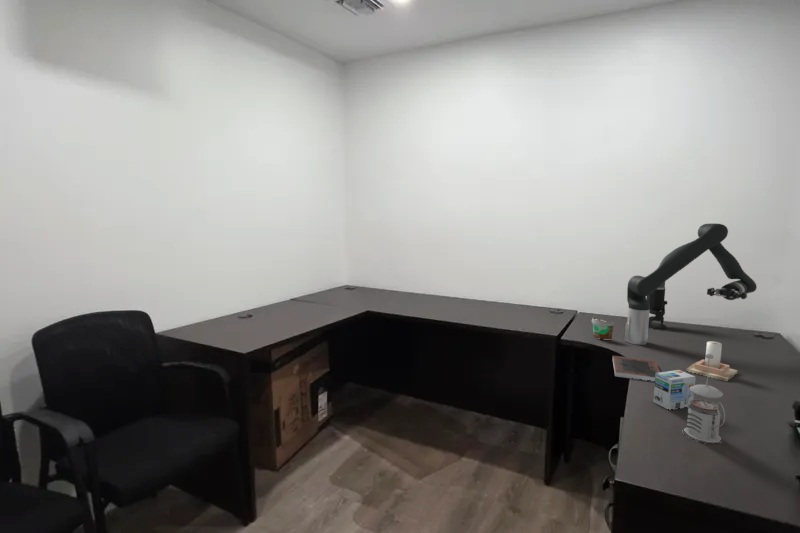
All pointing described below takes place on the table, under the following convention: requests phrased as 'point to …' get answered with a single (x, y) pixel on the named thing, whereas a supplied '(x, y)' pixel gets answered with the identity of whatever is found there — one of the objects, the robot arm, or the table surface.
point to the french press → (704, 427)
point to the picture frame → (635, 368)
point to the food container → (602, 328)
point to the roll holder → (712, 370)
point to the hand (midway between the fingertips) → (722, 295)
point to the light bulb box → (673, 389)
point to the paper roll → (715, 350)
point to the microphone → (657, 307)
